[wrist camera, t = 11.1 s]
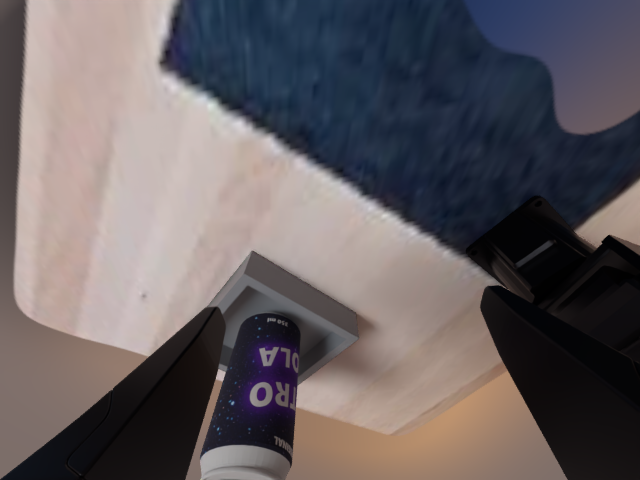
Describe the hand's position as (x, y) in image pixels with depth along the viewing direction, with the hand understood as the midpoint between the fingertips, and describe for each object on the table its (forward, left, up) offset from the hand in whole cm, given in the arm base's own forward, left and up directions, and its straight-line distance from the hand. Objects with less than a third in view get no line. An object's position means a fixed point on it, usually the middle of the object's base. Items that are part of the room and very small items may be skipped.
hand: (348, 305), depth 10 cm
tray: (-4, +15, -12) cm, 20 cm away
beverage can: (-4, +15, -12) cm, 19 cm away
